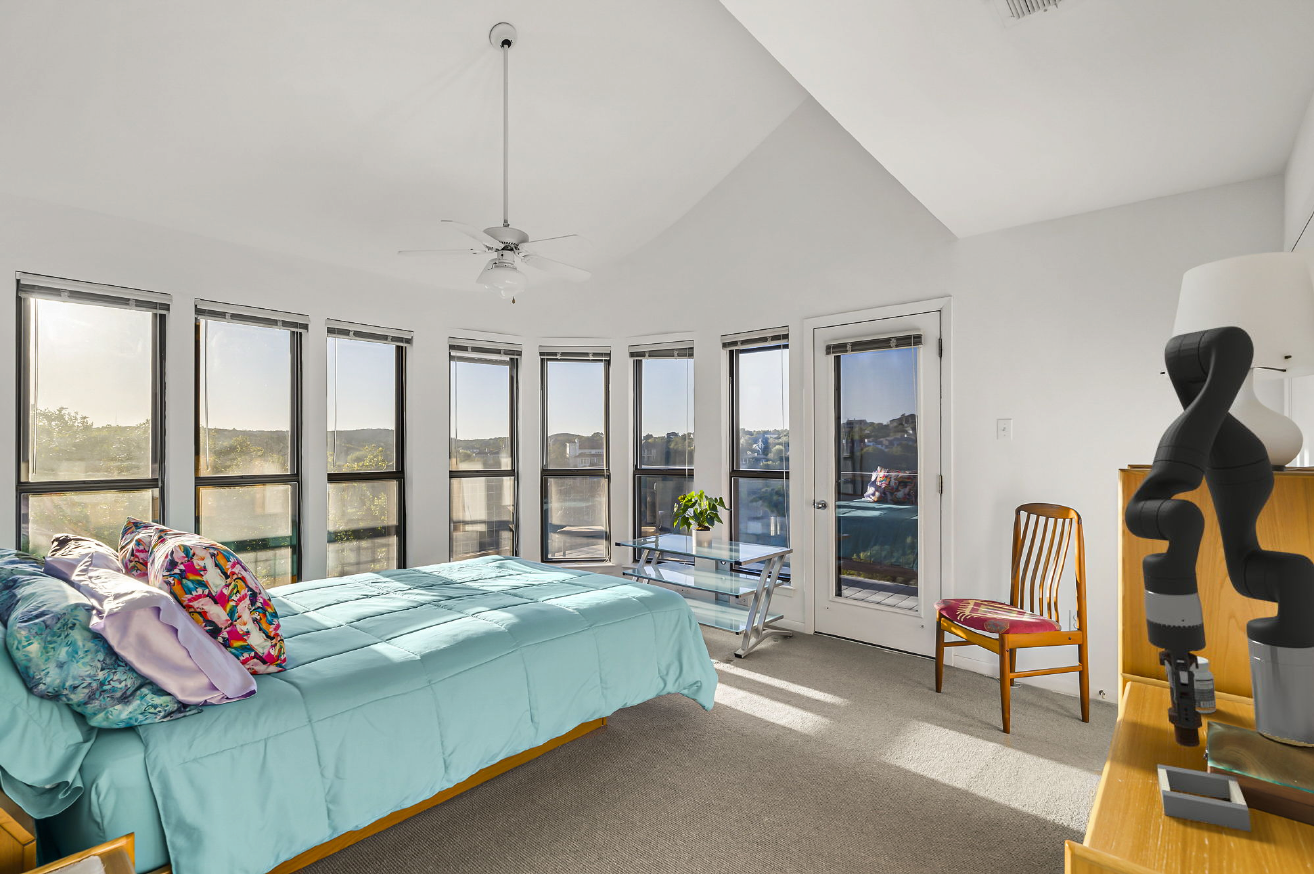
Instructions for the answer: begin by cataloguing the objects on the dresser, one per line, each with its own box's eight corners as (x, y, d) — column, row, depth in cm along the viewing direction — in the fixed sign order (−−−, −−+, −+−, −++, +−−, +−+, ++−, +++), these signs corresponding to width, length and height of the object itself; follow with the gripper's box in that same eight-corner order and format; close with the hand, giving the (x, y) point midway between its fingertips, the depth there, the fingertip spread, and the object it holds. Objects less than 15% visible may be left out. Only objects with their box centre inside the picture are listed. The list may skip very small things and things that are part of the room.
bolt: (1209, 755, 103) (1198, 662, 104) (1169, 748, 106) (1158, 658, 107) (1206, 739, 108) (1196, 650, 108) (1168, 733, 111) (1158, 647, 111)
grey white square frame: (1158, 782, 104) (1157, 763, 104) (1237, 796, 99) (1235, 776, 99) (1164, 814, 96) (1162, 794, 96) (1250, 831, 91) (1248, 810, 91)
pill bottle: (1179, 700, 133) (1175, 652, 133) (1216, 705, 129) (1211, 656, 129) (1179, 710, 128) (1174, 661, 128) (1217, 716, 125) (1212, 665, 125)
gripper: (1210, 631, 99) (1222, 741, 99) (1196, 606, 111) (1207, 704, 111) (1149, 627, 103) (1160, 733, 103) (1142, 604, 115) (1152, 698, 115)
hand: (1184, 718), depth 107 cm, fingers closed on bolt, 4 cm apart
